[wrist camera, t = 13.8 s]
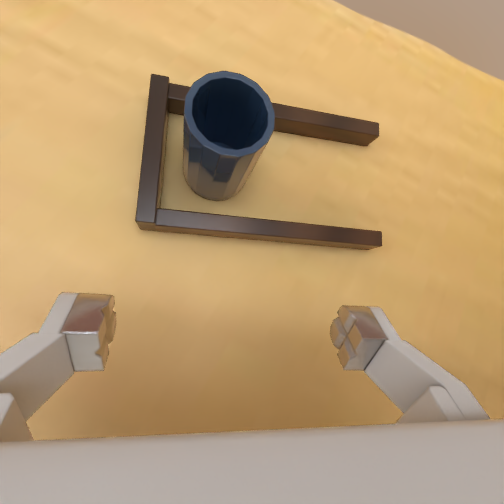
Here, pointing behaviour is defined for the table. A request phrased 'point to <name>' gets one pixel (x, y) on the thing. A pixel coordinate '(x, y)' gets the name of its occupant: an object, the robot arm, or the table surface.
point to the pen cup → (224, 133)
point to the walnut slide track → (156, 219)
